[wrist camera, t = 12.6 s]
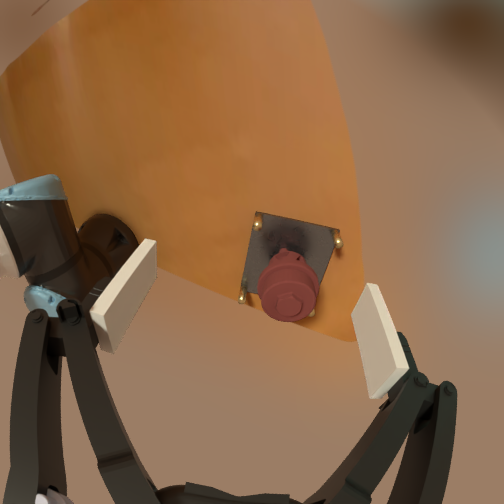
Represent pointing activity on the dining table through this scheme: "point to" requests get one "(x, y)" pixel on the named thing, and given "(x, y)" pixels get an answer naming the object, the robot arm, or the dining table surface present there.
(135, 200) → the dining table surface
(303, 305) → the mechanical component
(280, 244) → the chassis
